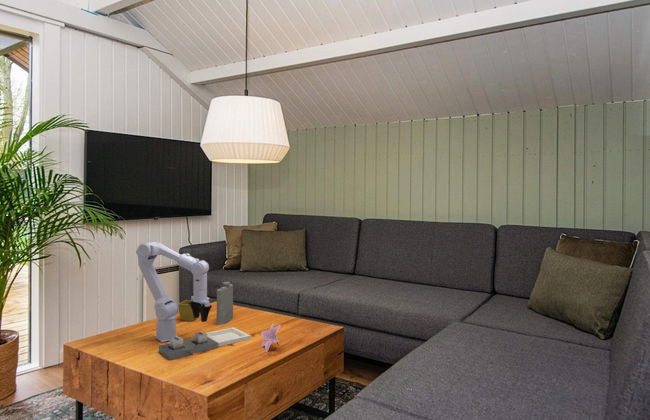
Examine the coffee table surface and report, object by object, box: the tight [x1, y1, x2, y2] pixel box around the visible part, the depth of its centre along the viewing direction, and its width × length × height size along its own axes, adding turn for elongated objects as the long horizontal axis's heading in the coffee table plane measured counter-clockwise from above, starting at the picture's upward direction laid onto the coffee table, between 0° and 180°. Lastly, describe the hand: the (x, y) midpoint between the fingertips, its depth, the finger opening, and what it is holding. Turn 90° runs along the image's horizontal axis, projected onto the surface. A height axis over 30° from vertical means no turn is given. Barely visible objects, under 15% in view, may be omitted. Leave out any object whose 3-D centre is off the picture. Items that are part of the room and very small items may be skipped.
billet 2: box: [193, 331, 208, 345], centre depth 188 cm, size 4×4×6 cm
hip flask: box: [216, 281, 234, 326], centre depth 226 cm, size 16×4×20 cm, turn 170°
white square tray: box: [206, 327, 252, 348], centre depth 199 cm, size 16×16×2 cm
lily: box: [260, 323, 282, 353], centre depth 189 cm, size 12×12×10 cm
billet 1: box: [169, 336, 184, 350], centre depth 181 cm, size 4×4×6 cm
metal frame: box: [158, 337, 218, 361], centre depth 185 cm, size 12×20×2 cm, turn 130°
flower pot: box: [177, 299, 197, 322], centre depth 229 cm, size 9×9×9 cm
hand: (200, 319), depth 196 cm, fingers open, 7 cm apart
